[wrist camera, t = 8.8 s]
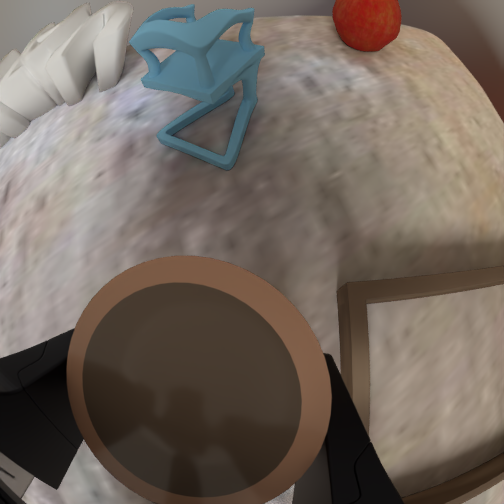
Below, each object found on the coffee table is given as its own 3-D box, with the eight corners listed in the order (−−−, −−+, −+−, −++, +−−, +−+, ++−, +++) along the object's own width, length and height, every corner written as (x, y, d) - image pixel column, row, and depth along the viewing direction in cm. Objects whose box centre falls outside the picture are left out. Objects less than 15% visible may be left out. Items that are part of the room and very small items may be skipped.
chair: (280, 107, 23) (276, -13, 12) (229, 172, 21) (190, 37, 10) (211, 86, 25) (184, -15, 13) (158, 142, 23) (100, 36, 12)
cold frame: (510, 455, 11) (528, 461, 8) (333, 521, 12) (340, 542, 10) (516, 269, 16) (536, 260, 14) (336, 291, 18) (347, 282, 15)
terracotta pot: (319, 378, 14) (384, 436, 4) (223, 433, 13) (154, 534, 4) (257, 286, 16) (225, 203, 6) (166, 343, 15) (37, 334, 6)
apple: (402, 66, 24) (423, -4, 14) (337, 57, 25) (345, -22, 15) (382, 35, 27) (394, -26, 16) (325, 27, 27) (328, -38, 17)
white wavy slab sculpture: (165, 30, 31) (145, -23, 21) (146, 94, 26) (110, 20, 16) (8, 104, 33) (-19, 74, 23) (-24, 173, 28) (-61, 144, 18)
